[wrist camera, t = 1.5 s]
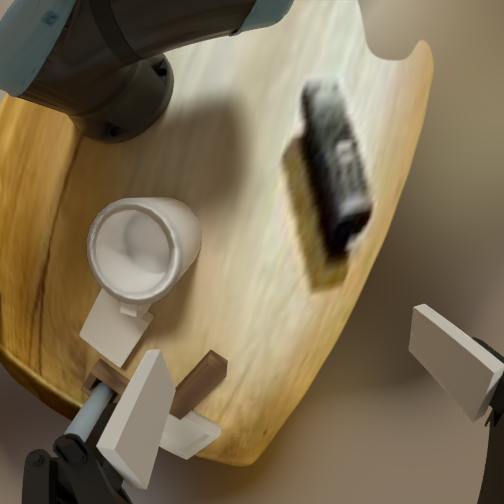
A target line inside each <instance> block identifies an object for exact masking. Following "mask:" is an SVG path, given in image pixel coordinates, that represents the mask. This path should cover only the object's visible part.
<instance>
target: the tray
mask: <svg viewBox="0 0 504 504" xmlns="http://www.w3.org/2000/svg"><path fill="white" fill-rule="evenodd" d="M220 432H221V425H219V424H217V423H215V422H213V421H211V420H209V419H207V418H205V417H204V416H202V415H200V414H198V413H196V412H194V411H193V410H191V411H190V412H189V413H188V414H187V415H185V416H184V417H183V418H182V419H181V420H179V419H178V418H176V417H174V416H172V415H171V414H168V418H167V421H166V424H165V428H164V431H163V434H162V438H161V441H160V445H159V446H160V447H162V448H164V449H165V450H168V451H169V452H171V453H173V454H176V455H177V456H180V457H182V458H184V459H186V460H187V459H189V458H190V457H192V456H193V455H194V454H196V453H197V452H199V451H200V450H201V449H203V448H204V447H206V446H207V445H208V444H210V443H211V442H212V441H214V440H215V439H216V438H218V437H219V436H220Z"/></svg>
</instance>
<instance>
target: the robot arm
mask: <svg viewBox="0 0 504 504" xmlns="http://www.w3.org/2000/svg"><path fill="white" fill-rule="evenodd" d="M293 2H294V0H15V1H14V2H13V3H12V4H11V6H10V7H9V9H8V10H7V11H6V13H5V14H4V16H3V17H2V19H1V21H0V89H1V90H3V91H6V92H7V93H8V94H9V95H10V96H12V97H18V98H21V99H24V100H27V101H30V102H33V103H36V104H39V105H42V106H45V107H48V108H51V109H54V110H57V111H59V112H62V113H65V114H67V115H68V116H69V118H70V119H71V120H72V122H73V123H74V124H75V126H76V127H77V128H78V130H79V131H80V132H81V133H83V134H84V135H85V136H87V137H89V138H91V139H94V140H97V141H100V142H104V143H119V142H123V141H126V140H129V139H132V138H134V137H136V136H138V135H139V134H141V133H142V132H144V131H145V130H147V129H148V128H149V127H150V126H151V125H152V124H153V123H154V122H155V121H156V120H157V119H158V118H159V117H160V115H161V114H162V113H163V111H164V110H165V108H166V106H167V104H168V102H169V100H170V97H171V94H172V91H173V85H174V76H173V70H172V67H171V65H170V63H169V61H168V60H167V58H166V56H165V55H164V54H163V53H164V52H167V51H170V50H173V49H176V48H180V47H183V46H186V45H190V44H194V43H197V42H201V41H205V40H209V39H214V38H218V37H223V36H227V35H228V36H235V35H238V34H240V33H241V32H244V31H249V30H254V29H259V28H264V27H269V26H272V25H274V24H276V23H278V22H279V21H280V20H281V19H282V18H283V17H284V16H285V15H286V14H287V13H288V11H289V10H290V8H291V6H292V4H293ZM409 351H410V352H411V353H412V354H413V355H414V356H415V357H416V358H417V359H418V361H419V362H420V363H421V364H422V365H423V366H424V367H425V368H426V369H427V370H428V371H429V373H430V374H431V375H432V376H433V377H434V378H435V379H436V380H437V381H438V382H439V384H440V385H441V386H442V387H443V388H444V389H445V391H446V392H447V393H448V394H449V395H450V396H451V397H452V399H453V400H454V401H455V402H456V403H457V404H458V406H459V407H460V408H461V409H462V410H463V411H464V413H465V414H466V415H467V416H468V417H469V418H470V420H471V421H472V422H474V421H476V420H477V419H479V418H480V417H482V416H483V415H485V413H486V411H487V409H488V406H489V405H490V406H491V407H492V408H493V409H492V411H491V413H490V415H489V417H488V419H487V421H486V423H485V426H487V424H488V422H489V421H490V430H489V441H488V450H487V458H486V464H485V470H484V476H483V481H482V486H481V490H480V494H479V498H478V502H477V504H504V357H503V356H501V355H500V354H499V353H497V352H496V351H494V349H492V348H491V347H489V346H488V345H487V344H486V343H485V342H483V341H482V340H480V339H477V338H474V337H472V338H470V337H469V336H468V335H466V334H465V333H464V332H462V331H461V330H460V329H458V328H457V327H456V326H454V325H453V324H451V323H450V322H449V321H448V320H446V319H445V318H444V317H442V316H441V315H439V314H438V313H437V312H435V311H434V310H433V309H431V308H430V307H428V306H427V305H426V304H422V305H419V306H415V307H414V308H413V319H412V328H411V337H410V344H409ZM175 392H176V390H175V387H174V384H173V382H172V379H171V377H170V374H169V371H168V368H167V366H166V363H165V360H164V357H163V354H162V351H161V349H158V350H147V351H146V353H145V355H144V357H143V358H142V360H141V362H140V364H139V366H138V367H137V369H136V371H135V373H134V375H133V377H132V378H131V380H130V382H129V384H128V386H127V388H126V389H125V391H124V393H123V395H122V397H121V399H120V401H119V403H110V404H109V405H108V406H107V407H106V408H105V409H104V410H103V411H102V413H101V415H100V417H99V419H98V420H97V422H96V425H95V426H94V428H93V429H92V431H91V433H90V435H89V437H88V439H87V441H86V442H85V443H84V441H83V440H82V439H81V437H80V436H78V435H77V434H73V433H68V434H64V435H62V436H60V437H59V438H58V439H57V440H56V441H55V443H54V444H53V451H54V452H55V453H56V454H57V456H58V457H57V458H55V457H51V456H50V455H49V454H48V452H47V451H45V450H43V449H36V450H33V451H32V452H30V453H29V454H28V455H27V457H26V460H25V467H24V476H23V489H22V504H133V503H132V502H131V500H130V498H129V497H128V495H127V493H126V492H125V490H124V489H123V488H122V487H121V484H122V482H123V480H124V481H125V482H126V483H127V484H128V485H129V486H130V487H136V488H143V489H147V487H148V483H149V480H150V476H151V472H152V469H153V465H154V462H155V458H156V455H157V451H158V448H159V445H160V441H161V438H162V434H163V431H164V428H165V424H166V421H167V418H168V414H169V411H170V408H171V405H172V401H173V398H174V395H175Z"/></svg>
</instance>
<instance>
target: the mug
mask: <svg viewBox="0 0 504 504" xmlns="http://www.w3.org/2000/svg"><path fill="white" fill-rule="evenodd" d="M201 242H202V231H201V228H200V224H199V220H198V219H197V217H196V216H195V214H194V213H193V211H192V209H190V208H189V207H188V206H187V205H185V204H184V203H183V202H182V201H179V200H176V199H174V198H171V197H142V198H123V199H120V200H117V201H115V202H112V203H110V204H108V205H107V206H106V207H105V208H104V209H103V210H101V211H100V212H99V213H98V214H97V216H96V218H95V219H94V221H93V223H92V225H91V226H90V230H89V234H88V238H87V259H88V262H89V265H90V268H91V271H92V274H93V275H94V277H95V279H96V280H97V282H98V283H99V285H100V286H101V287H102V288H103V289H104V290H105V291H106V292H107V293H108V294H109V295H111V296H112V297H113V298H115V299H117V300H119V301H121V303H120V313H124V314H127V315H130V316H134V317H141V318H142V317H143V315H144V314H145V313H146V312H147V311H148V310H149V308H150V306H151V304H152V303H155V302H157V301H158V300H160V299H161V298H163V297H164V296H166V295H168V293H169V292H170V291H171V290H172V288H173V287H174V286H175V284H176V283H177V282H178V281H179V279H180V278H181V277H182V276H183V274H184V273H185V272H186V270H187V269H188V268H189V267H190V265H191V264H192V263H193V262H194V260H195V259H196V258H197V256H198V253H199V250H200V248H201Z"/></svg>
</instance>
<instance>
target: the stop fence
mask: <svg viewBox="0 0 504 504" xmlns="http://www.w3.org/2000/svg"><path fill="white" fill-rule="evenodd" d="M227 363H228V361H227V360H226V359H224V358H223V357H221V356H220V355H218V354H217V353H215V352H214V351H212V350H210V351H209V352H208V353H207V354H206V355H205V357H204V358H203V359H202V360H201V361H200V362H199V363H198V364H197V365H196V366H195V368H194V369H193V370H192V371H191V372H190V373H189V374H188V375H187V376H186V377H185V378H184V380H183V381H182V382H181V383H180V384H179V385H178V386H177V387H176V388H175V390H176V392H175V395H174V398H173V401H172V405H171V408H170V411H169V414H171V415H172V416H174V417H176V418H178V419H179V420H181V419H182V418H183V417H184V416H185V415H187V414H188V413H189V412H190V411H191V410H192V409H193V408H194V407H195V406H196V405H197V404H198V403H199V402H201V401H202V400H203V399H204V398H205V397H206V396H207V395H208V394H209V393H210V392H211V391H212V390H213V389H214V388H215V387H216V386H217V385H218V384H219V383H220V382H221V381H222V380H223V379H224V378H225V377H226V372H227Z"/></svg>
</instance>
